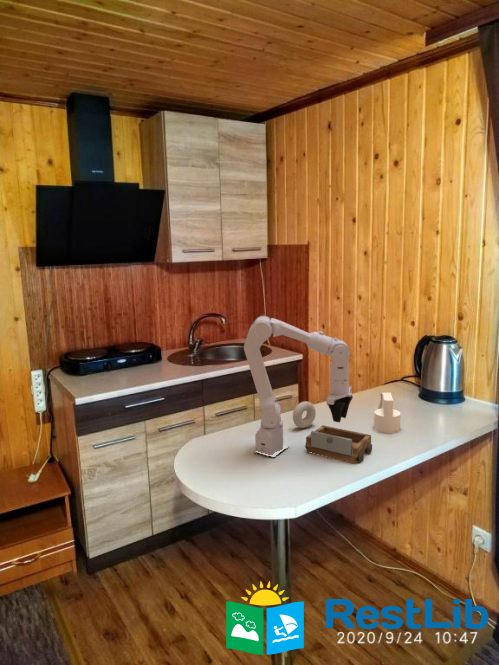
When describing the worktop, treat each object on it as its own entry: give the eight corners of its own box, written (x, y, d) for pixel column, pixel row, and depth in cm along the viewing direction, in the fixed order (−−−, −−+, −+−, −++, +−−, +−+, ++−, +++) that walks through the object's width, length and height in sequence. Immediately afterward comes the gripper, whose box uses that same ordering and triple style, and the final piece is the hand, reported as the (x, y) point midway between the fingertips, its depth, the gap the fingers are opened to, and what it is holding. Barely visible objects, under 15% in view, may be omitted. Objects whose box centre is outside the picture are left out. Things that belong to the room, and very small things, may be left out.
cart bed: (358, 464, 145) (358, 449, 144) (304, 451, 156) (303, 436, 155) (373, 450, 155) (373, 435, 154) (320, 438, 165) (320, 424, 164)
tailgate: (349, 456, 145) (349, 441, 145) (309, 447, 153) (309, 432, 152) (352, 454, 147) (352, 439, 146) (312, 445, 155) (312, 430, 154)
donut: (296, 432, 172) (296, 405, 170) (290, 429, 174) (290, 403, 172) (317, 425, 177) (317, 399, 175) (311, 423, 180) (311, 397, 178)
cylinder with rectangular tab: (401, 433, 167) (402, 401, 165) (374, 432, 169) (375, 400, 166) (398, 424, 175) (399, 392, 173) (373, 423, 177) (373, 392, 175)
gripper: (341, 386, 144) (341, 429, 146) (360, 374, 155) (360, 414, 158) (320, 383, 148) (321, 424, 150) (340, 372, 159) (340, 410, 162)
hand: (339, 419), depth 154 cm, fingers open, 4 cm apart
